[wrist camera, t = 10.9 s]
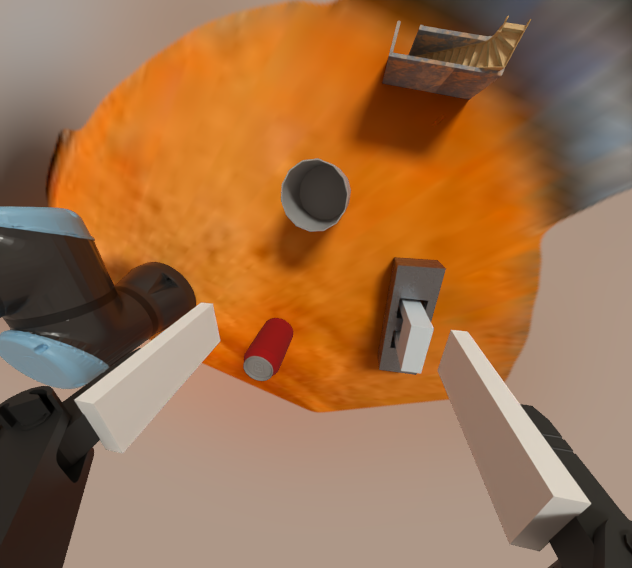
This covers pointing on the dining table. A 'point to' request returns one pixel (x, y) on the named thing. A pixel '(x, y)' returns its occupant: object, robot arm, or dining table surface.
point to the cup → (315, 194)
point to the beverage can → (268, 349)
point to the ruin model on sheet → (452, 60)
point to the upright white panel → (412, 335)
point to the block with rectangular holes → (408, 283)
